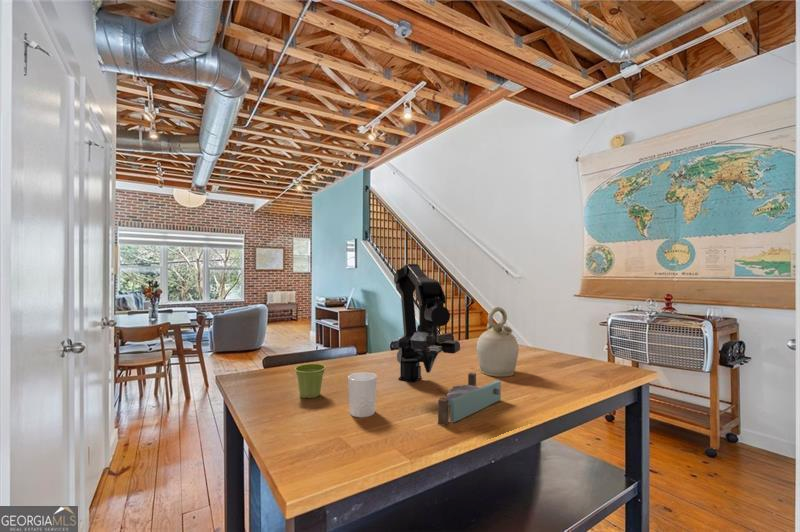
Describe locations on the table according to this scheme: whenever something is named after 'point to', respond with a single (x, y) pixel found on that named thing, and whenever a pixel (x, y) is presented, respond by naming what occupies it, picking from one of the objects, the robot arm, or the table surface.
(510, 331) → the jug
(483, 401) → the gate
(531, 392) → the table surface
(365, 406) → the white cup
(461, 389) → the stone block
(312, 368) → the plant pot
